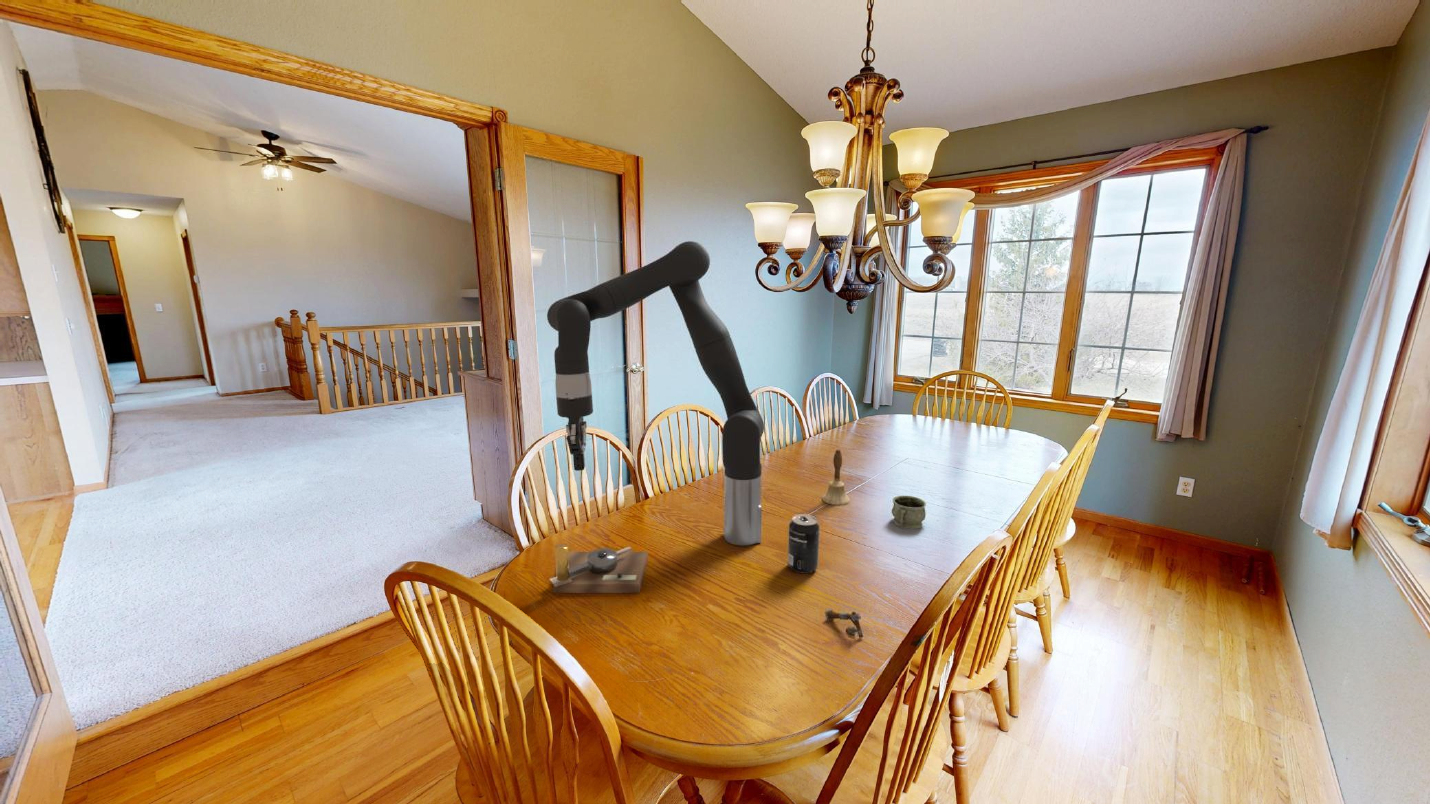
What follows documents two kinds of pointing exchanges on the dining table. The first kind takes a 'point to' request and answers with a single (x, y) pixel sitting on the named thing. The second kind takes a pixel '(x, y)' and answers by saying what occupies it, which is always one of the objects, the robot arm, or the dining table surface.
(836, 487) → the hand bell
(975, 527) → the dining table surface
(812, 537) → the beverage can
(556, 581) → the stand
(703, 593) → the dining table surface
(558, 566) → the capstan
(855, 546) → the dining table surface
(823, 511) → the dining table surface
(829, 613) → the brown grey angled piece
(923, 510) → the vessel
